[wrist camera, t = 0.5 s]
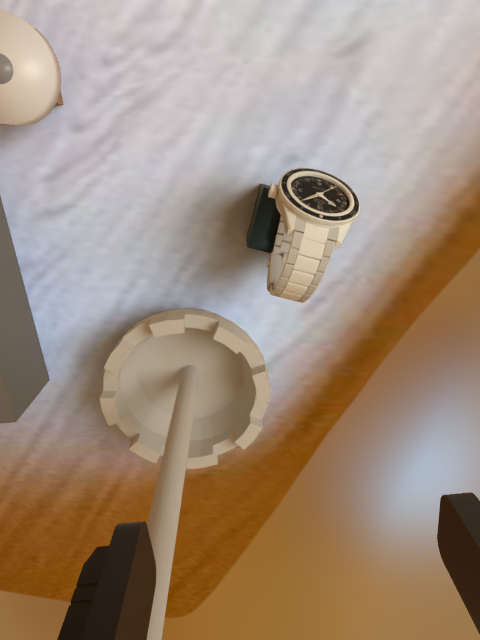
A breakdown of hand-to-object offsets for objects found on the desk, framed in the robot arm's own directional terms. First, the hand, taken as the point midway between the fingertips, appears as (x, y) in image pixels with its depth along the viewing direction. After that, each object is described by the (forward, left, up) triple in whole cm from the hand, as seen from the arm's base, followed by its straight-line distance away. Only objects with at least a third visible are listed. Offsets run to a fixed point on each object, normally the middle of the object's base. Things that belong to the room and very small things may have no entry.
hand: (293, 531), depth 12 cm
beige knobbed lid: (-15, -14, -22) cm, 30 cm away
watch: (-4, +3, -26) cm, 26 cm away
